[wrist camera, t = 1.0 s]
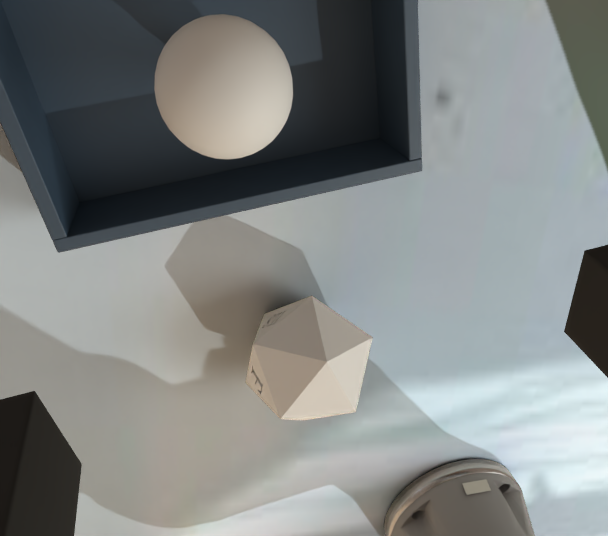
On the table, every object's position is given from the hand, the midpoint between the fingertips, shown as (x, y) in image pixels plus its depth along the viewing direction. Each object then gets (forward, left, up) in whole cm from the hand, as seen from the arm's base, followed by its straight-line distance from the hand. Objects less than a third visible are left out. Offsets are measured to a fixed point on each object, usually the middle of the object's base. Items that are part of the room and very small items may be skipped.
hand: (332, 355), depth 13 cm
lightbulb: (+3, 0, -23) cm, 24 cm away
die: (-17, -2, -24) cm, 29 cm away
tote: (+3, 0, -24) cm, 24 cm away
